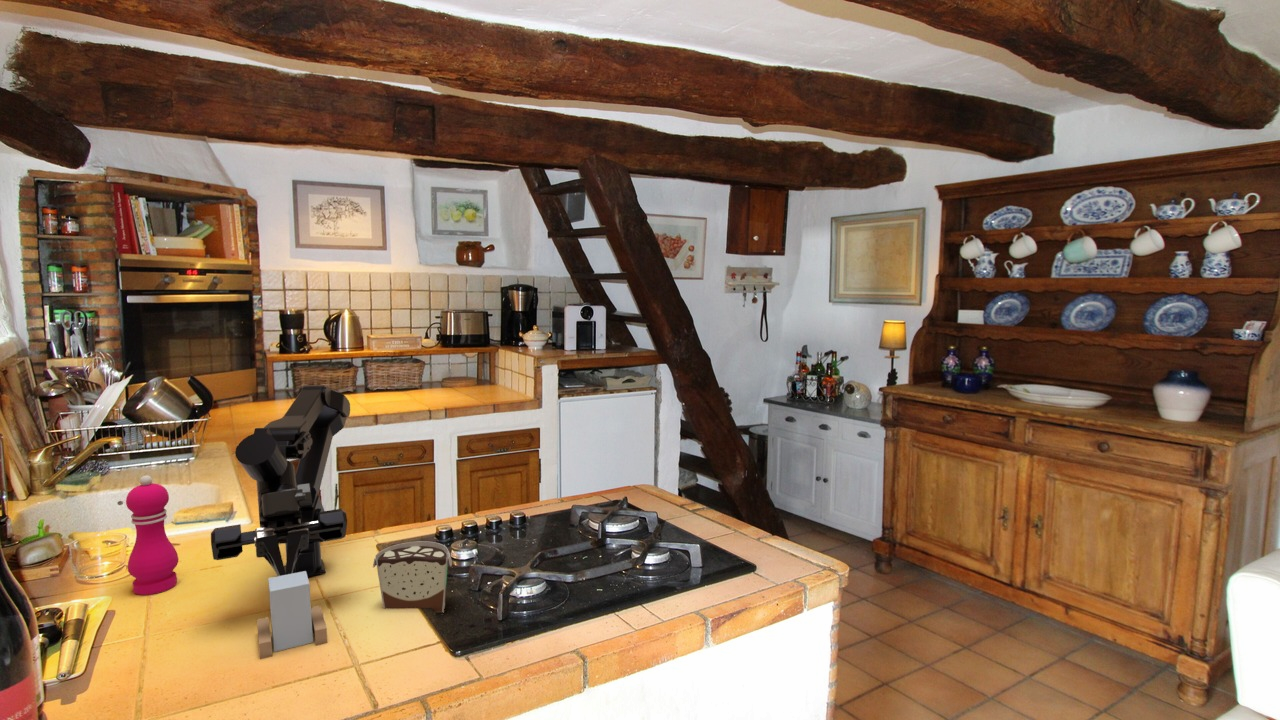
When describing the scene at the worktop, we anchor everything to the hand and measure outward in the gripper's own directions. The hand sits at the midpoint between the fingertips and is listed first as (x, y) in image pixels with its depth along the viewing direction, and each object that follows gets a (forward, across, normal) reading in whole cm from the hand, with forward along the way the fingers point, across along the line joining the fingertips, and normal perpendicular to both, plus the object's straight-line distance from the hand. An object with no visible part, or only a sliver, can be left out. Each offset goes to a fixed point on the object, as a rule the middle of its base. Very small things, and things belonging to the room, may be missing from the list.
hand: (286, 584), depth 105 cm
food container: (+6, +19, +5) cm, 21 cm away
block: (+8, 0, +2) cm, 8 cm away
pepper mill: (-15, -19, +26) cm, 36 cm away
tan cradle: (+11, 0, 0) cm, 11 cm away
